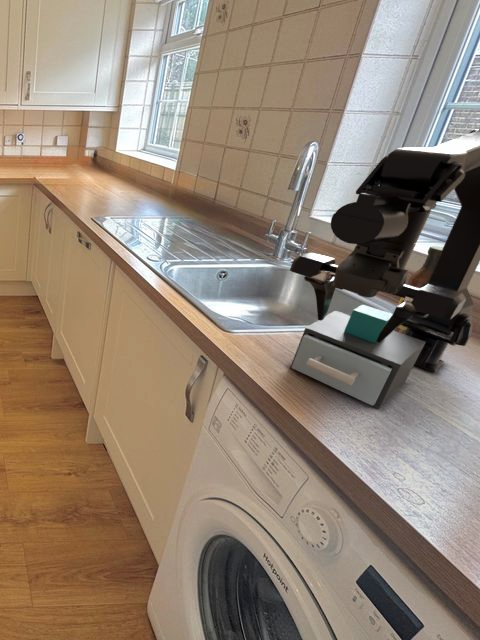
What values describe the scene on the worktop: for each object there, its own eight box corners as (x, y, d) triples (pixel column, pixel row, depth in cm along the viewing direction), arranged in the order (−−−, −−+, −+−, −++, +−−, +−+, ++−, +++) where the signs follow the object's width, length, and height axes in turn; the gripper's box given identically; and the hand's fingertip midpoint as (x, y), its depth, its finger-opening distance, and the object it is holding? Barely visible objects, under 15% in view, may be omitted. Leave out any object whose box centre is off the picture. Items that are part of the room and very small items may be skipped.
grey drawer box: (378, 409, 66) (400, 364, 63) (290, 367, 76) (305, 327, 73) (404, 382, 73) (425, 341, 70) (320, 347, 83) (335, 310, 80)
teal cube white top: (353, 325, 74) (362, 304, 73) (385, 337, 71) (395, 315, 69) (343, 331, 72) (353, 309, 71) (376, 344, 69) (387, 321, 67)
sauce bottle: (435, 344, 86) (481, 256, 79) (400, 340, 87) (443, 253, 80) (410, 328, 92) (451, 245, 85) (378, 325, 93) (416, 242, 86)
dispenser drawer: (363, 415, 64) (380, 379, 61) (280, 374, 72) (292, 342, 70) (397, 381, 72) (413, 348, 69) (319, 349, 81) (331, 319, 78)
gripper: (290, 226, 63) (260, 315, 69) (470, 269, 48) (413, 377, 54) (321, 219, 69) (290, 302, 74) (490, 255, 54) (436, 355, 60)
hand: (348, 330), depth 65 cm, fingers open, 7 cm apart
